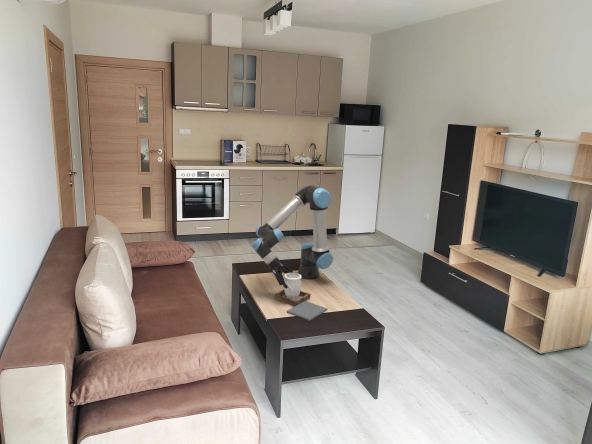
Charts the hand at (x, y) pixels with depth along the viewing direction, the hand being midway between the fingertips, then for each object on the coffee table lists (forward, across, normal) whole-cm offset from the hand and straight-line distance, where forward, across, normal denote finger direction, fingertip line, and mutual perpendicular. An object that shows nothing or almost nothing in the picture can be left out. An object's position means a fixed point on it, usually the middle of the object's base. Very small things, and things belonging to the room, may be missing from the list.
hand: (294, 287), depth 275 cm
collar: (+4, 0, -6) cm, 8 cm away
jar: (+5, 0, -7) cm, 8 cm away
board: (+14, +13, +3) cm, 19 cm away
